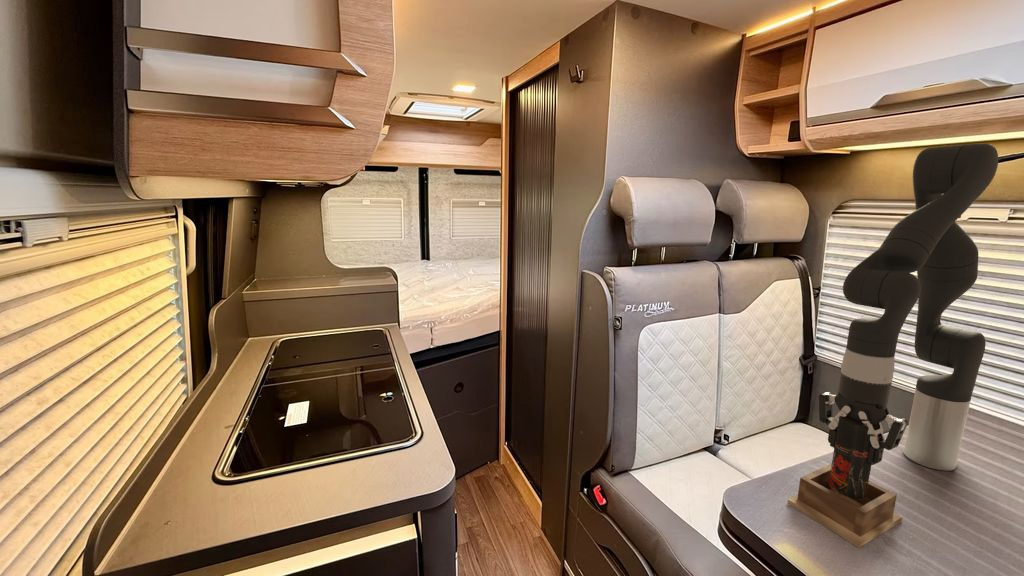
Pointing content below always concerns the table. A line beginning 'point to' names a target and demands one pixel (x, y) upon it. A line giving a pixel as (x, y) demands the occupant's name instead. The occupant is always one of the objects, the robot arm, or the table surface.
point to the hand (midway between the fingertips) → (852, 454)
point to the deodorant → (851, 459)
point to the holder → (846, 508)
